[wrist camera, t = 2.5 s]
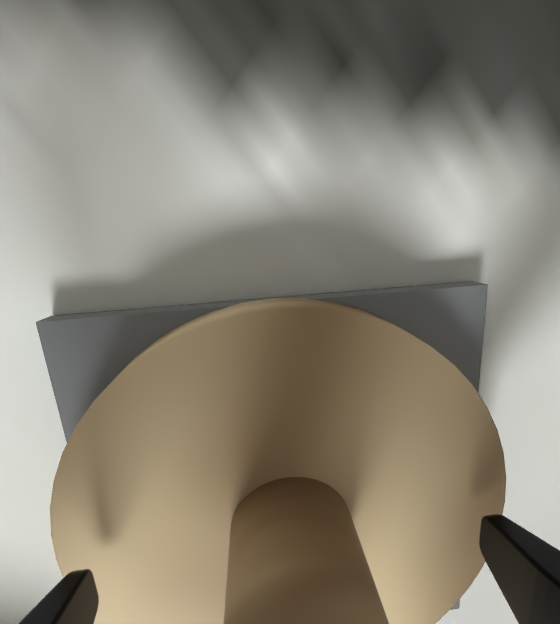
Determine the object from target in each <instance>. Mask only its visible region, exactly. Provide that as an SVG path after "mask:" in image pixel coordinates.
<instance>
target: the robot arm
mask: <svg viewBox="0 0 560 624" xmlns="http://www.w3.org/2000/svg"><path fill="white" fill-rule="evenodd" d="M479 546H480V550H481V553H482V555H483V557H484V559H485V561H486V563H487V565H488V567H489V568H490V570H491V572H492V574H493V576H494V578H495V580H496V582H497V583H498V585H499V587H500V589H501V591H502V593H503V595H504V597H505V599H506V600H507V602H508V604H509V606H510V608H511V610H512V612H513V614H514V616H515V617H516V619H517V621H518V623H519V624H560V551H559V550H558V549H556V548H555V547H553V546H551V545H550V544H548V543H546V542H545V541H543V540H542V539H540V538H538V537H537V536H535V535H534V534H532V533H530V532H529V531H527V530H526V529H524V528H522V527H521V526H519V525H518V524H516V523H514V522H513V521H511V520H510V519H508V518H506V517H505V516H503V515H500V514H493V515H486V516H483V518H482V519H481V527H480V537H479ZM98 604H99V596H98V591H97V588H96V584H95V580H94V577H93V573H92V571H91V570H90V569H83V570H76V571H72V572H70V573H68V574H67V575H66V576H65V577H64V578H63V579H62V580H61V581H60V582H59V583H58V584H57V585H56V586H55V587H54V588H53V589H52V590H51V591H50V592H49V593H48V594H47V595H46V596H45V597H44V598H43V599H42V600H41V601H40V602H39V603H38V604H37V605H36V606H35V607H34V608H33V609H32V610H31V611H30V612H29V613H28V614H27V615H26V616H25V617H24V618H23V619H22V621H21V622H20V623H19V624H94V621H95V617H96V614H97V610H98Z"/></svg>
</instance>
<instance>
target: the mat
mask: <svg viewBox="0 0 560 624" xmlns="http://www.w3.org/2000/svg"><path fill="white" fill-rule="evenodd" d="M487 286H488V285H487V284H483V283H478V282H473V281H469V282H457V283H445V284H433V285H420V286H408V287H396V288H384V289H372V290H360V291H348V292H335V293H323V294H311V295H299V296H287V297H275V298H308V299H316V300H324V301H332V302H336V303H340V304H344V305H348V306H352V307H356V308H360V309H362V310H364V311H367V312H369V313H372V314H374V315H377V316H379V317H382V318H384V319H386V320H388V321H389V322H391V323H393V324H395V325H396V326H398V327H400V328H402V329H403V330H405V331H407V332H408V333H410V334H412V335H413V336H415V337H416V338H418V339H420V340H421V341H423V342H424V343H426V344H428V345H429V346H431V347H432V348H434V349H435V350H436V351H437V352H439V353H440V354H441V355H442V356H444V357H445V358H446V359H447V360H449V361H450V362H451V363H452V364H454V365H455V366H456V367H457V369H458V370H459V371H460V372H461V373H462V374H463V375H464V376H465V377H466V378H467V379H468V381H469V382H470V383H471V384H472V385H473V386H474V388H475V389H476V391H477V392H478V388H479V377H480V365H481V354H482V343H483V331H484V320H485V309H486V297H487ZM264 299H271V298H263V299H250V300H238V301H226V302H214V303H202V304H190V305H178V306H165V307H153V308H141V309H129V310H117V311H105V312H92V313H80V314H68V315H56V316H50V317H47V318H45V319H42V320H40V321H38V322H36V325H37V329H38V333H39V337H40V341H41V344H42V348H43V352H44V356H45V360H46V364H47V368H48V372H49V375H50V379H51V383H52V387H53V391H54V395H55V399H56V402H57V406H58V410H59V414H60V418H61V422H62V426H63V430H64V433H65V437H66V441H67V443H68V441H69V439H70V437H71V435H72V433H73V431H74V429H75V427H76V425H77V424H78V423H79V421H80V420H81V418H82V417H83V415H84V414H85V413H86V411H87V410H88V408H89V407H90V406H91V404H92V403H93V401H94V400H95V399H96V398H97V397H98V396H99V395H100V394H101V393H102V392H103V391H104V390H105V389H106V388H107V386H108V385H109V384H110V383H111V382H112V381H113V380H114V379H115V378H116V377H117V376H118V375H119V374H120V373H121V372H122V371H123V370H124V369H125V368H126V367H127V365H128V364H129V363H130V362H131V361H132V360H133V359H134V358H135V357H136V356H137V355H139V354H140V353H141V352H142V351H144V350H145V349H146V348H147V347H149V346H150V345H151V344H152V343H154V342H155V341H156V340H158V339H159V338H160V337H162V336H164V335H165V334H167V333H169V332H170V331H172V330H174V329H176V328H177V327H179V326H181V325H182V324H184V323H186V322H188V321H191V320H193V319H195V318H198V317H200V316H202V315H205V314H207V313H209V312H212V311H215V310H218V309H222V308H226V307H229V306H232V305H236V304H239V303H243V302H250V301H257V300H264ZM459 603H460V599H459V600H458V601H457V603H456V604H455V605H454V606H453V607H452V608H451V609H450V610H452V609H458V608H459Z"/></svg>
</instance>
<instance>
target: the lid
mask: <svg viewBox="0 0 560 624" xmlns="http://www.w3.org/2000/svg"><path fill="white" fill-rule="evenodd" d="M505 488H506V472H505V463H504V453H503V449H502V446H501V442H500V438H499V434H498V431H497V428H496V426H495V424H494V421H493V419H492V417H491V415H490V412H489V410H488V408H487V406H486V405H485V403H484V402H483V400H482V399H481V397H480V395H479V394H478V392H477V391H476V389H475V388H474V386H473V385H472V384H471V383H470V382H469V381H468V379H467V378H466V377H465V376H464V375H463V374H462V373H461V372H460V371H459V370H458V369H457V367H456V366H455V365H454V364H452V363H451V362H450V361H449V360H447V359H446V358H445V357H444V356H442V355H441V354H440V353H439V352H437V351H436V350H435V349H434V348H432V347H431V346H429V345H428V344H426V343H424V342H423V341H421V340H420V339H418V338H416V337H415V336H413V335H412V334H410V333H408V332H407V331H405V330H403V329H402V328H400V327H398V326H396V325H395V324H393V323H391V322H389V321H388V320H386V319H384V318H382V317H379V316H377V315H374V314H372V313H369V312H367V311H364V310H362V309H360V308H356V307H352V306H348V305H344V304H340V303H336V302H332V301H324V300H316V299H308V298H271V299H264V300H257V301H250V302H243V303H239V304H236V305H232V306H229V307H226V308H222V309H218V310H215V311H212V312H209V313H207V314H205V315H202V316H200V317H198V318H195V319H193V320H191V321H188V322H186V323H184V324H182V325H181V326H179V327H177V328H176V329H174V330H172V331H170V332H169V333H167V334H165V335H164V336H162V337H160V338H159V339H158V340H156V341H155V342H154V343H152V344H151V345H150V346H149V347H147V348H146V349H145V350H144V351H142V352H141V353H140V354H139V355H137V356H136V357H135V358H134V359H133V360H132V361H131V362H130V363H129V364H128V365H127V367H126V368H125V369H124V370H123V371H122V372H121V373H120V374H119V375H118V376H117V377H116V378H115V379H114V380H113V381H112V382H111V383H110V384H109V385H108V386H107V388H106V389H105V390H104V391H103V392H102V393H101V394H100V395H99V396H98V397H97V398H96V399H95V400H94V401H93V403H92V404H91V406H90V407H89V408H88V410H87V411H86V413H85V414H84V415H83V417H82V418H81V420H80V421H79V423H78V424H77V425H76V427H75V429H74V431H73V433H72V435H71V437H70V439H69V441H68V443H67V445H66V447H65V449H64V451H63V453H62V456H61V459H60V463H59V466H58V469H57V472H56V475H55V479H54V484H53V491H52V498H51V506H50V516H51V536H52V541H53V546H54V551H55V555H56V560H57V562H58V565H59V568H60V570H61V573H62V575H63V578H64V577H65V576H66V575H67V574H68V573H70V572H72V571H76V570H83V569H90V570H91V571H92V573H93V577H94V580H95V584H96V588H97V591H98V596H99V604H98V610H97V614H96V617H95V621H94V624H435V623H437V622H438V621H439V620H440V619H441V618H442V617H443V616H444V615H445V614H446V613H447V612H448V611H449V610H450V609H451V608H452V607H453V606H454V605H455V604H456V603H457V601H458V600H459V599H460V598H461V597H462V595H463V594H464V593H465V592H466V590H467V589H468V588H469V587H470V585H471V584H472V582H473V581H474V579H475V578H476V576H477V575H478V573H479V571H480V570H481V568H482V567H483V565H484V563H485V559H484V557H483V555H482V553H481V550H480V546H479V537H480V527H481V519H482V518H483V516H486V515H493V514H500V515H502V513H503V508H504V503H505Z"/></svg>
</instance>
